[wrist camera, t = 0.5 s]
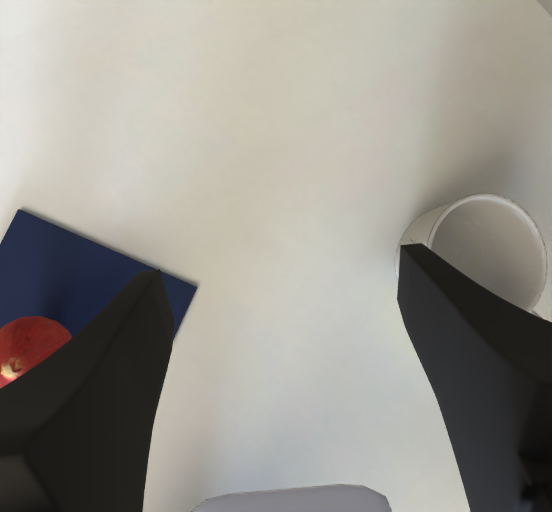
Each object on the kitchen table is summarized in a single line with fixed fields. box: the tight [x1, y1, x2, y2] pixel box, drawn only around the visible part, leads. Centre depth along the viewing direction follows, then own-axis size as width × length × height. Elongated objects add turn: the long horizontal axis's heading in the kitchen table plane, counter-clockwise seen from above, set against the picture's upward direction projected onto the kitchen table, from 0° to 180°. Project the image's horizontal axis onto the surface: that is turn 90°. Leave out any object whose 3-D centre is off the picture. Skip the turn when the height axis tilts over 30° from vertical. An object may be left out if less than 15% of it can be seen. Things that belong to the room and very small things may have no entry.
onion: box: [0, 316, 72, 388], centre depth 31 cm, size 6×6×8 cm
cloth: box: [0, 209, 197, 339], centre depth 36 cm, size 20×15×1 cm
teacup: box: [395, 193, 547, 318], centre depth 39 cm, size 14×11×8 cm
